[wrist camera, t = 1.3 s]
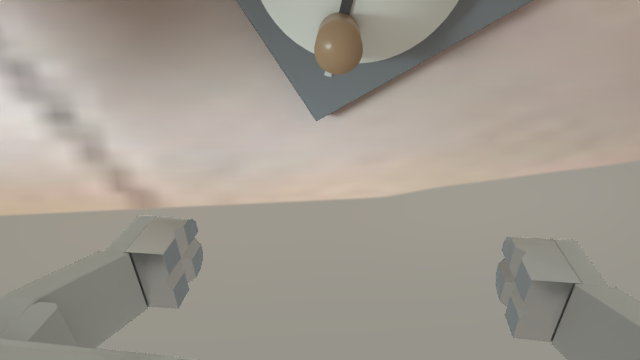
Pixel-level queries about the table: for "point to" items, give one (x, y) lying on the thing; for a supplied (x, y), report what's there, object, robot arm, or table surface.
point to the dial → (357, 27)
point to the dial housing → (338, 90)
